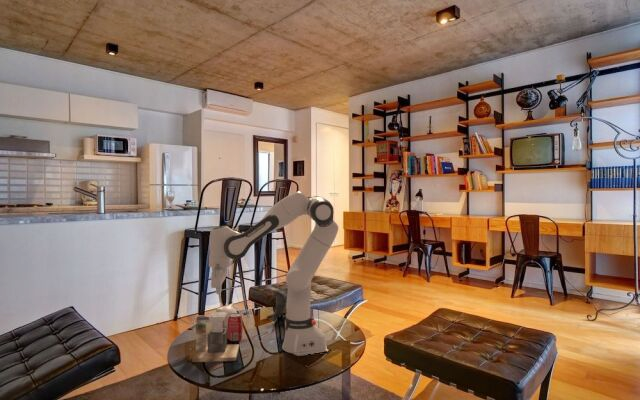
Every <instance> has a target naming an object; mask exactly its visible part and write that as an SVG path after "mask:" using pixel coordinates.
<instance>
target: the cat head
mask: <svg viewBox="0 0 640 400" xmlns="http://www.w3.org/2000/svg"><path fill="white" fill-rule="evenodd" d="M215 312H227V317H226V320H224V328H227V331H228V318H229V315H230V314H233V313H238V312H237V310H236V309H235V308H234V303H230V304H226V305H223V306H221V307H217V308H216V309H215ZM210 323H211V324H212V321H209V324H210Z"/></svg>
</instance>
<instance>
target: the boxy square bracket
mask: <svg viewBox="0 0 640 400" xmlns="http://www.w3.org/2000/svg"><path fill="white" fill-rule="evenodd" d="M226 317H227V312H216V311H212V312H211V313H210V314H209V316H206V317H197V316H196V321H197V320H206V321H209V322H211V321H212V322H211V329H212V334H221V333H224V320H226Z"/></svg>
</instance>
